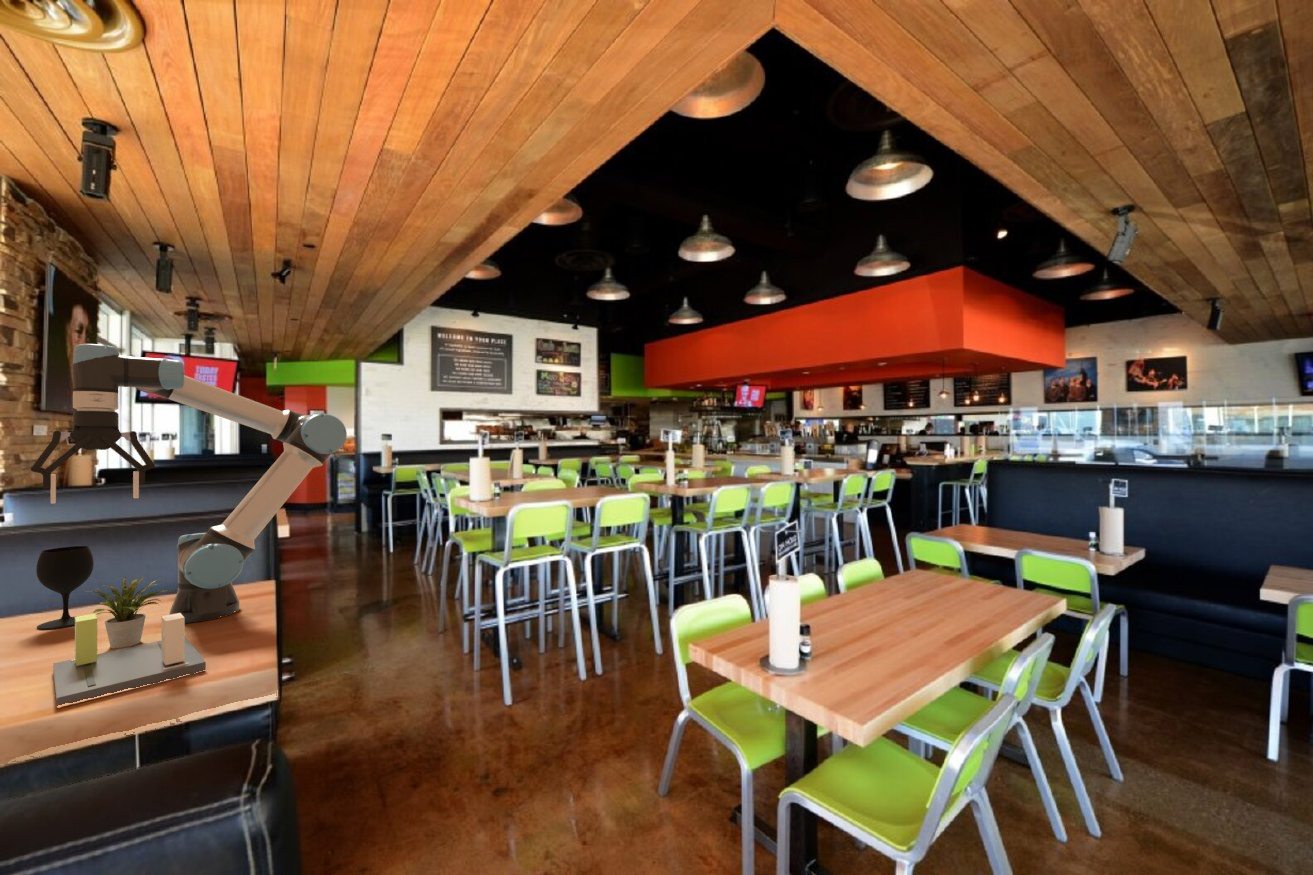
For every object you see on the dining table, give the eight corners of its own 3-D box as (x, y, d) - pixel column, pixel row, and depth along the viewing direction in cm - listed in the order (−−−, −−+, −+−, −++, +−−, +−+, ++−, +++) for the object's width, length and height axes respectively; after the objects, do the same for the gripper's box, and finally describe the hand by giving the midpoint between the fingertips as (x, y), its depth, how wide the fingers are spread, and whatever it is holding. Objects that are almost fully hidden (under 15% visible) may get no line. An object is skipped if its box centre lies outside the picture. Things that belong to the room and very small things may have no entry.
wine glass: (91, 614, 153) (91, 543, 153) (95, 622, 146) (95, 548, 146) (35, 624, 145) (35, 549, 145) (37, 632, 138) (37, 554, 138)
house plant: (108, 660, 120) (108, 586, 120) (61, 655, 123) (61, 583, 123) (176, 637, 134) (176, 571, 134) (133, 633, 137) (133, 569, 137)
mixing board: (184, 643, 130) (184, 634, 130) (205, 671, 114) (205, 660, 114) (53, 672, 114) (53, 662, 114) (56, 708, 98) (56, 696, 98)
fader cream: (180, 654, 117) (180, 612, 117) (184, 660, 113) (184, 617, 114) (161, 658, 114) (161, 616, 115) (165, 665, 111) (165, 621, 111)
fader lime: (95, 655, 117) (95, 613, 117) (97, 661, 113) (97, 618, 114) (74, 659, 114) (74, 616, 115) (76, 665, 111) (76, 621, 111)
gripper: (14, 407, 116) (14, 506, 116) (169, 411, 135) (169, 497, 135) (14, 409, 121) (14, 504, 121) (164, 413, 140) (164, 495, 140)
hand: (96, 500), depth 128 cm, fingers open, 13 cm apart
